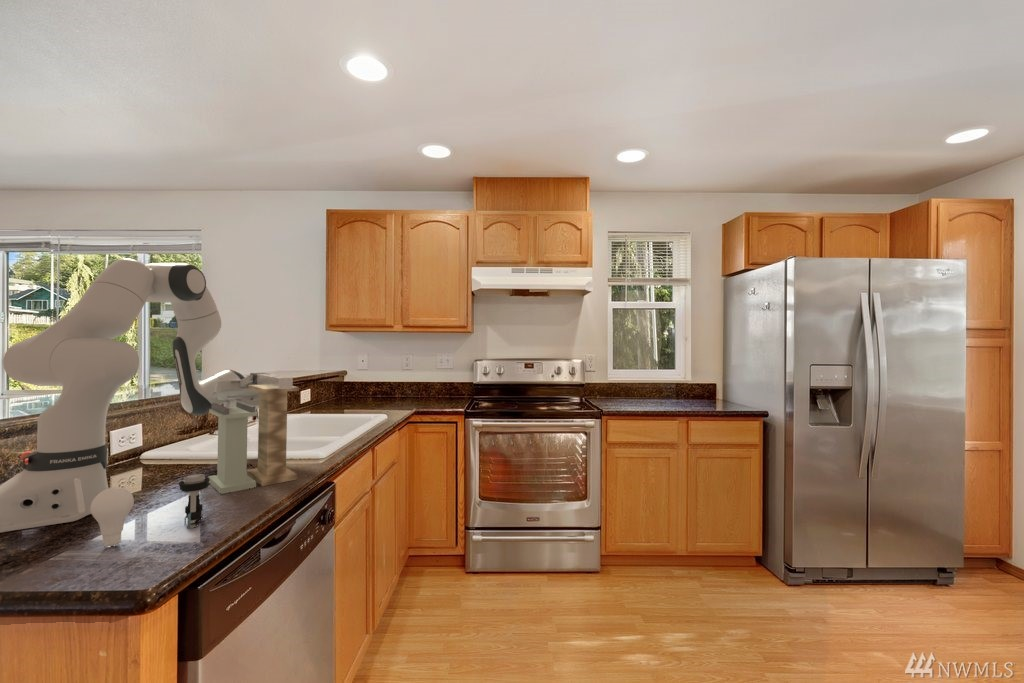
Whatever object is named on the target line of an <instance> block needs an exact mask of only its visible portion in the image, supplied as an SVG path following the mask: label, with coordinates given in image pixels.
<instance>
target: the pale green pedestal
mask: <svg viewBox="0 0 1024 683" xmlns="http://www.w3.org/2000/svg"><path fill="white" fill-rule="evenodd" d="M208 414H211V415H213V416H215V417H217V419H218V420H217V464H216V465H217V471H216V472H217V473H216V474H215V475H214V474H213V475H209V476H207V478H209V479H210V481H209V482H208V484H210V485H211V486H212V487H213V488H214V489H215V490H216V491H217V492H218V491H219V492H218V493H219V494H220V493H221V494H220V495H224V494H228V493H229V492H230V493H233V492H239V491H244V490H249V488H250V489H254V487H255V488H257V482H256V481H254V480H253V479H252V478H250V477H249V476H248V475H247V470H248V469H247V467H248V466H247V465H248V420H249V419H248V417H250V416H251V417H258V411H257V410H256V411H255V406H252V405H249V404H246V403H244V402H241V401H238V402H236V407H229V408H227V407H224V405H223V404H222V405H219V404H217V403H212V408H211V409H209V412H208ZM251 417H250V418H251Z"/></svg>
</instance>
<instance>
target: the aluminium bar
mask: <svg viewBox="0 0 1024 683" xmlns="http://www.w3.org/2000/svg"><path fill="white" fill-rule="evenodd" d="M249 375H253V378H254V381H253V382H251V383H253V384H257V385H262V386H266V387H271V388H275V389H292V387H293V386H294V385H293V384H294V383H293V382H294V379H293V377H291V376H285V375H280V374H279V375H278V374H272V373H267V372H250V373H249Z"/></svg>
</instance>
